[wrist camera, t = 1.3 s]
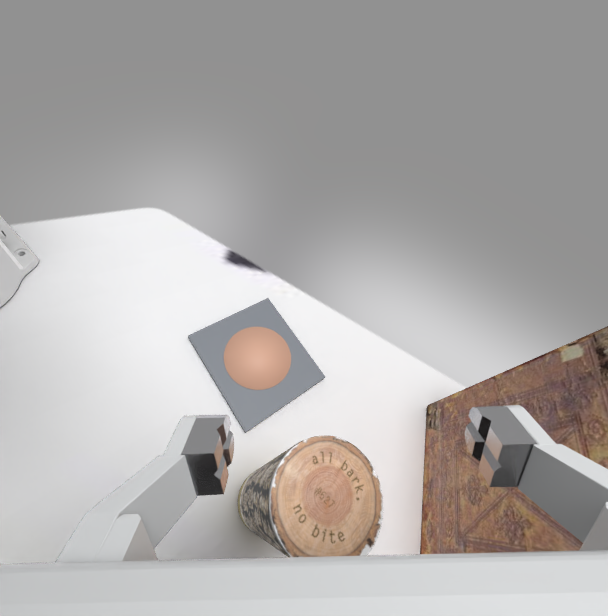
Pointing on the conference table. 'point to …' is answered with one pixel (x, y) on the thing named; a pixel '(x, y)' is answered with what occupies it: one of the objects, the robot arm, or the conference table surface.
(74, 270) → the conference table surface
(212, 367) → the card
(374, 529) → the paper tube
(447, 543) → the book
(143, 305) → the conference table surface
